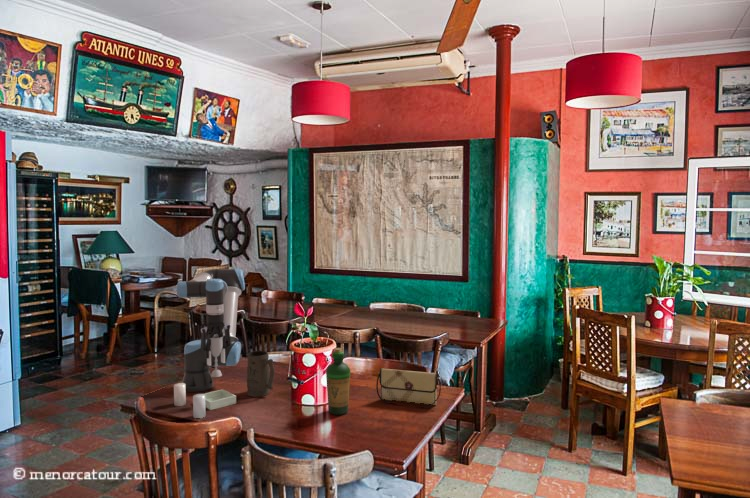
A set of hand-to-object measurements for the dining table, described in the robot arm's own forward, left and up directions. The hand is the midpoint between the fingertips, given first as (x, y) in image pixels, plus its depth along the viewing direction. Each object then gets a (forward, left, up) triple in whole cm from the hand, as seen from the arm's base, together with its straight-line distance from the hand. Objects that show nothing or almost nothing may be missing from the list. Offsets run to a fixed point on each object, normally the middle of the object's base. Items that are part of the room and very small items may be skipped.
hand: (216, 363), depth 249 cm
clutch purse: (-64, +60, -19) cm, 89 cm away
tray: (0, 0, -18) cm, 18 cm away
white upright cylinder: (+13, -10, -18) cm, 25 cm away
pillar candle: (+13, +10, -18) cm, 25 cm away
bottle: (-34, +46, -18) cm, 60 cm away
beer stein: (-22, +3, -18) cm, 29 cm away
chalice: (0, 0, -6) cm, 6 cm away
